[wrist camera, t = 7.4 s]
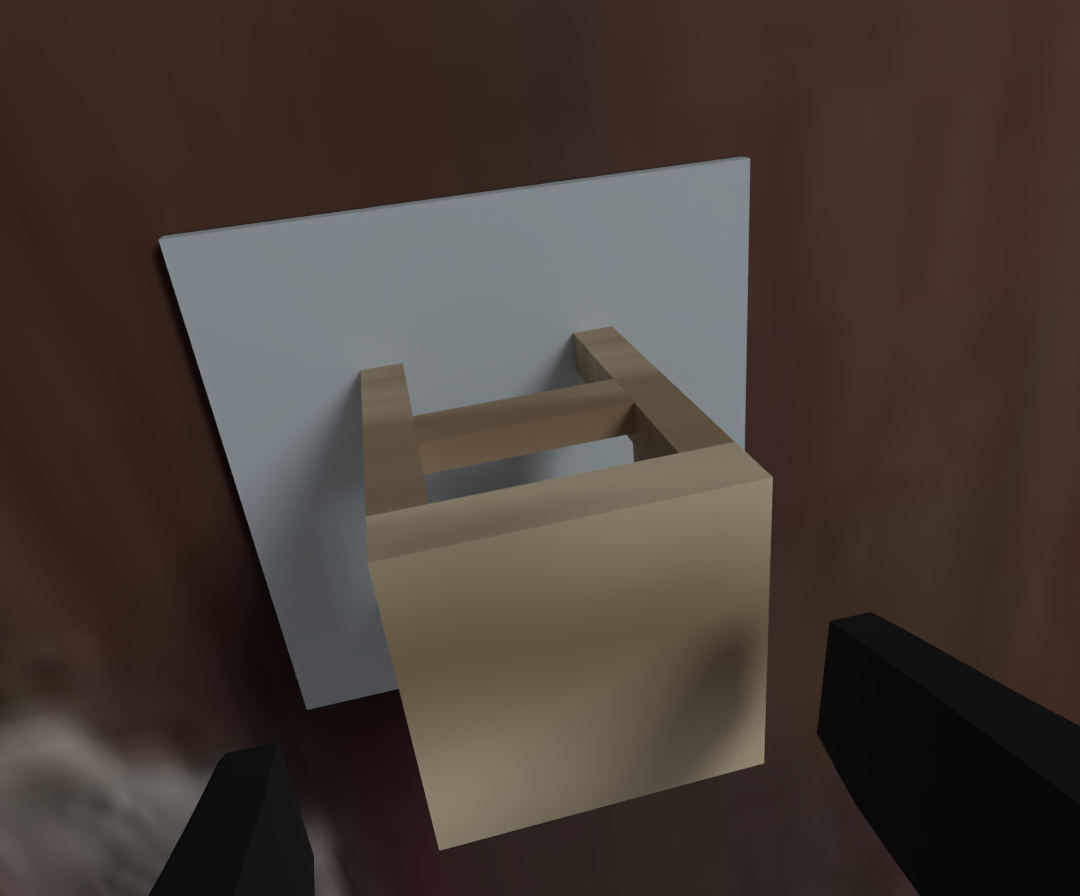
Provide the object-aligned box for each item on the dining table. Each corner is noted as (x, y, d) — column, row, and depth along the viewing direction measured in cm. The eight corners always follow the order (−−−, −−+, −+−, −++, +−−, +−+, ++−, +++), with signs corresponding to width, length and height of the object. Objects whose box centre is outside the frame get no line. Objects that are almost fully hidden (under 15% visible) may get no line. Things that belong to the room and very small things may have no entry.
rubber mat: (735, 601, 22) (741, 609, 22) (307, 699, 20) (307, 710, 20) (741, 156, 17) (749, 158, 16) (162, 235, 15) (158, 239, 15)
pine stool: (626, 535, 20) (764, 763, 13) (408, 582, 19) (439, 850, 12) (611, 326, 17) (773, 477, 11) (360, 370, 17) (367, 562, 10)
